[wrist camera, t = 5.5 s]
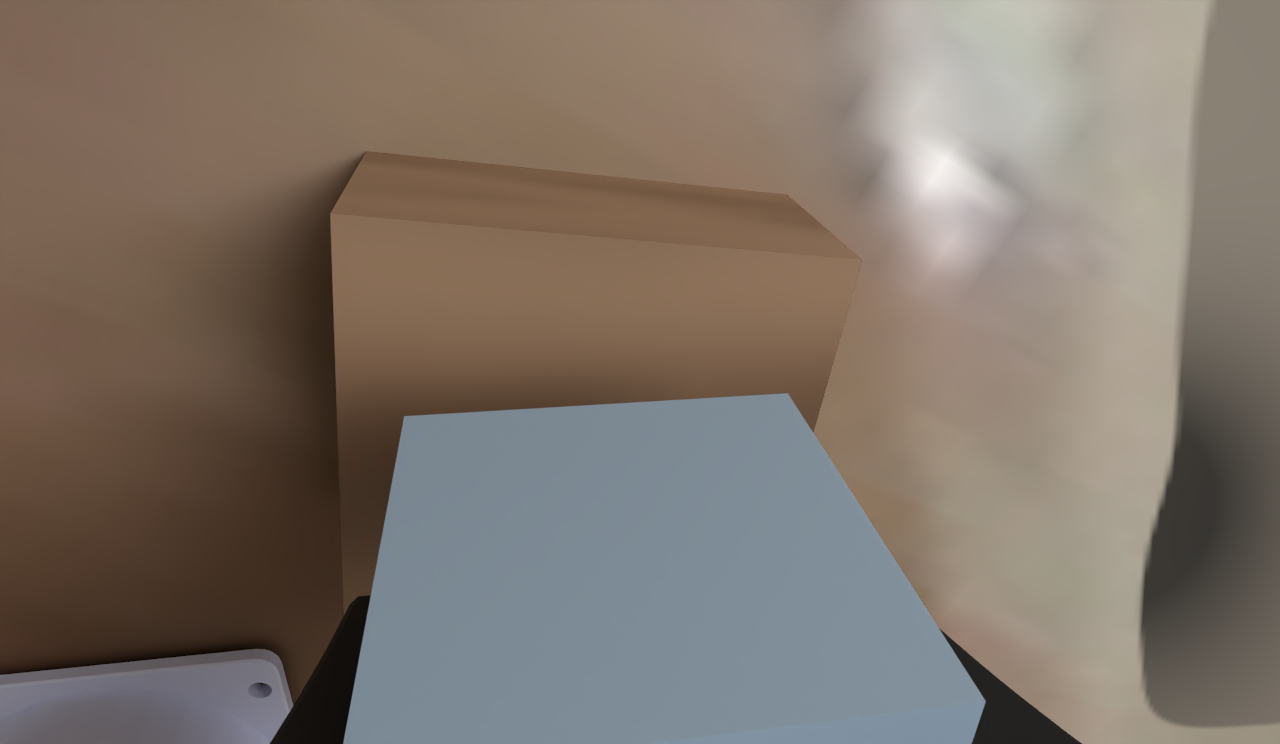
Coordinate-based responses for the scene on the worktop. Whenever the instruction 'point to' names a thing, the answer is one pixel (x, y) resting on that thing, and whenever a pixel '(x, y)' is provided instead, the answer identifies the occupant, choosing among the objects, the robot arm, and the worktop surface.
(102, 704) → the robot arm
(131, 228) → the worktop surface
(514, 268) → the walnut block
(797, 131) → the worktop surface
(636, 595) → the slate cube
